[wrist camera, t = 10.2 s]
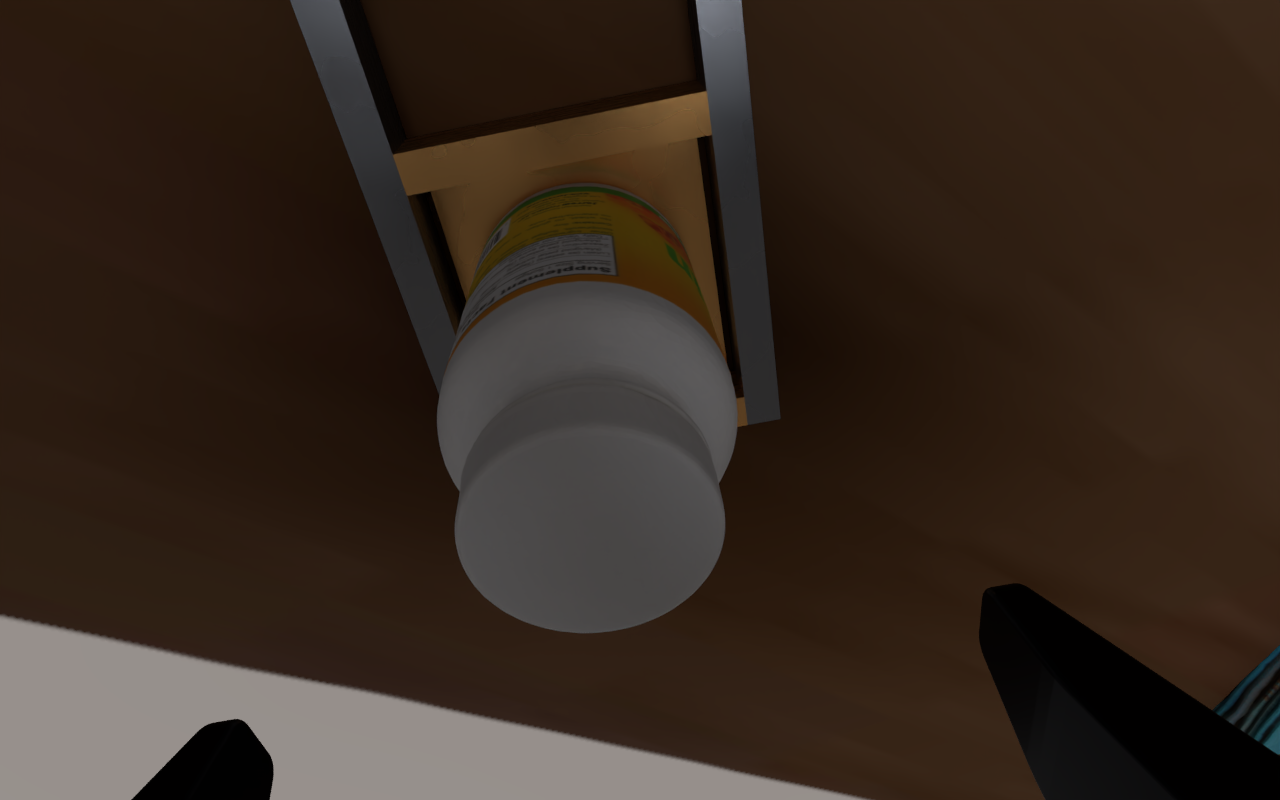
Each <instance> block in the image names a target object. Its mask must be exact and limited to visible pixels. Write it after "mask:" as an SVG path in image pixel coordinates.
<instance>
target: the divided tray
mask: <svg viewBox="0 0 1280 800" xmlns="http://www.w3.org/2000/svg"><path fill="white" fill-rule="evenodd" d="M290 1H291V4H292V6H293V9H294V12H295V14H296V17H297V20H298V22H299V25H300V28H301V30H302V33H303V36H304V38H305V41H306V43H307V46H308V49H309V51H310V54H311V57H312V59H313V62H314V65H315V67H316V70H317V73H318V75H319V78H320V81H321V83H322V86H323V89H324V91H325V94H326V96H327V99H328V102H329V104H330V107H331V110H332V112H333V115H334V118H335V120H336V123H337V126H338V128H339V131H340V134H341V136H342V139H343V141H344V144H345V147H346V149H347V152H348V155H349V157H350V160H351V163H352V165H353V168H354V171H355V173H356V176H357V179H358V181H359V184H360V186H361V189H362V192H363V194H364V197H365V200H366V202H367V205H368V208H369V210H370V213H371V216H372V218H373V221H374V224H375V226H376V229H377V232H378V234H379V237H380V239H381V242H382V245H383V247H384V250H385V253H386V255H387V258H388V261H389V263H390V266H391V269H392V271H393V274H394V277H395V279H396V282H397V284H398V287H399V290H400V292H401V295H402V298H403V300H404V303H405V306H406V308H407V311H408V314H409V316H410V319H411V322H412V324H413V327H414V330H415V332H416V335H417V337H418V340H419V343H420V345H421V348H422V351H423V353H424V356H425V359H426V361H427V364H428V367H429V369H430V372H431V375H432V377H433V380H434V382H435V385H436V388H437V390H438V393H439V396H440V390H441V386H442V381H443V377H444V373H445V370H446V367H447V364H448V360H449V357H450V354H451V350H452V347H453V344H454V341H455V338H456V334H457V331H458V328H459V324H460V321H461V317H462V314H463V311H464V310H463V307H462V304H461V301H460V298H459V295H458V292H457V289H456V286H455V283H454V280H453V277H452V274H451V271H450V268H449V265H448V262H447V259H446V256H445V253H444V250H443V247H442V244H441V241H440V238H439V235H438V232H437V229H436V226H435V223H434V220H433V217H432V214H431V211H430V208H429V205H428V202H427V199H426V196H425V193H424V192H429V191H430V192H431V195H432V198H433V201H434V204H435V207H436V210H437V213H438V216H439V219H440V222H441V225H442V228H443V231H444V234H445V237H446V241H447V244H448V247H449V250H450V253H451V256H452V259H453V262H454V265H455V268H456V271H457V274H458V277H459V280H460V283H461V286H462V289H463V292H464V295H465V298H466V301H467V298H468V294H469V291H470V287H471V284H472V281H473V278H474V274H475V271H476V267H477V264H478V262H479V259H480V256H481V254H482V251H483V248H484V246H485V244H486V242H487V240H488V238H489V236H490V235H491V233H492V231H493V230H494V228H495V227H496V226H497V224H498V223H499V222H500V221H501V219H502V218H503V217H504V216H505V215H506V214H507V213H508V212H509V211H510V210H511V209H513V208H514V207H515V206H516V205H518V204H519V203H520V202H522V201H523V200H525V199H526V198H528V197H530V196H532V195H533V194H535V193H537V192H540V191H542V190H545V189H548V188H551V187H555V186H559V185H564V184H572V183H597V184H605V185H610V186H614V187H617V188H620V189H623V190H626V191H629V192H631V193H633V194H635V195H637V196H639V197H640V198H642V199H644V200H645V201H647V202H648V203H650V204H651V205H652V206H653V207H654V208H656V209H657V210H658V211H659V212H660V213H661V214H662V215H663V216H664V217H665V218H666V219H667V220H668V221H669V223H670V224H671V225H672V226H673V228H674V229H675V231H676V232H677V234H678V235H679V237H680V239H681V241H682V243H683V245H684V247H685V249H686V252H687V254H688V257H689V259H690V262H691V265H692V268H693V270H694V273H695V276H696V279H697V281H698V284H699V287H700V289H701V292H702V295H703V298H704V300H705V303H706V306H707V308H708V311H709V314H710V317H711V320H712V323H713V326H714V329H715V332H716V335H717V338H718V340H719V343H720V346H721V349H722V351H723V354H724V357H725V360H726V352H725V345H724V337H723V330H722V322H721V315H720V307H719V300H718V292H717V285H716V277H715V270H714V262H713V255H712V247H711V240H710V232H709V225H708V217H707V210H706V202H705V195H704V187H703V180H702V172H701V165H700V157H699V150H698V142H697V138H698V137H703V136H704V137H705V145H706V153H707V161H708V168H709V176H710V184H711V192H712V200H713V208H714V215H715V223H716V231H717V239H718V247H719V254H720V262H721V270H722V278H723V286H724V293H725V301H726V309H727V317H728V325H729V333H730V340H731V348H732V356H733V364H734V370H730V373H731V377H732V382H733V386H734V390H735V395H736V401H737V412H738V420H737V427H740V426H745V425H750V424H756V423H761V422H766V421H772V420H777V419H781V418H780V407H779V397H778V386H777V375H776V365H775V354H774V343H773V333H772V322H771V311H770V301H769V290H768V279H767V269H766V258H765V247H764V237H763V226H762V215H761V205H760V194H759V183H758V173H757V162H756V151H755V141H754V130H753V119H752V109H751V98H750V87H749V77H748V66H747V55H746V45H745V34H744V23H743V13H742V2H741V0H687V4H688V12H689V20H690V28H691V36H692V43H693V51H694V59H695V67H696V75H697V80H694V81H689V82H684V83H679V84H675V85H670V86H665V87H660V88H655V89H650V90H645V91H640V92H635V93H630V94H625V95H620V96H615V97H611V98H606V99H601V100H596V101H591V102H586V103H581V104H576V105H571V106H566V107H561V108H556V109H551V110H547V111H542V112H537V113H532V114H527V115H522V116H517V117H512V118H507V119H502V120H497V121H492V122H487V123H483V124H478V125H473V126H468V127H463V128H458V129H453V130H448V131H443V132H438V133H433V134H428V135H423V136H419V137H414V138H409V139H406V136H405V133H404V130H403V127H402V124H401V121H400V118H399V115H398V112H397V109H396V106H395V103H394V100H393V97H392V94H391V91H390V88H389V85H388V82H387V79H386V76H385V73H384V70H383V67H382V64H381V61H380V58H379V55H378V52H377V49H376V46H375V43H374V40H373V37H372V34H371V32H370V29H369V26H368V23H367V20H366V17H365V14H364V11H363V8H362V5H361V2H360V0H290ZM726 363H727V360H726Z"/></svg>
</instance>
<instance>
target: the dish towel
mask: <svg viewBox="0 0 1280 800" xmlns="http://www.w3.org/2000/svg"><path fill="white" fill-rule="evenodd" d="M1212 711H1214V712H1215V713H1217V714H1218V715H1220V716H1221V717H1223V718H1224V719H1226V720H1227V721H1229V722H1230V723H1232V724H1233V725H1235V726H1236V727H1238V728H1239V729H1241V730H1242V731H1244V732H1245V733H1247V734H1248V735H1250V736H1251V737H1252V738H1254V739H1255V740H1257V741H1258V742H1260V743H1261V744H1263V745H1264V746H1266V747H1267V748H1269V749H1270V750H1272V751H1273V752H1275V753H1276V754H1280V645H1279V646H1278V647H1277V648H1276V649H1275V650H1274V651H1273V652H1272V653H1271V654H1270V655H1269V656H1268V657H1267V658H1266V659H1265V660H1263V661H1262V662H1261V663H1260V664H1259V665H1258V666H1257V667H1256V668H1255V669H1254V670H1253V671H1252V672H1251V673H1249V674H1248V675H1247V676H1246V677H1245V678H1244V679H1243V680H1242V681H1241V682H1240V684H1239V685H1238V686H1237V687H1236V688H1235V689H1234V690H1233V691H1232V692H1231V693H1230V694H1229V695H1228V696H1227V697H1226V698H1225V699H1224V700H1223V701H1222V702H1221V703H1219V704H1218V705H1217V706H1216V707H1215V708H1214V709H1213V710H1212Z"/></svg>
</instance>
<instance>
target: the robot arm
mask: <svg viewBox="0 0 1280 800" xmlns="http://www.w3.org/2000/svg"><path fill="white" fill-rule="evenodd" d="M979 641H980V646H981V650H982V653H983V656H984V658H985V661H986V663H987V665H988V668H989V670H990V673H991V675H992V677H993V680H994V682H995V685H996V687H997V689H998V692H999V694H1000V697H1001V699H1002V702H1003V704H1004V706H1005V709H1006V711H1007V714H1008V716H1009V718H1010V721H1011V723H1012V726H1013V728H1014V730H1015V733H1016V735H1017V738H1018V740H1019V743H1020V745H1021V747H1022V750H1023V752H1024V755H1025V757H1026V759H1027V762H1028V764H1029V766H1030V769H1031V771H1032V773H1033V775H1034V778H1035V780H1036V782H1037V784H1038V786H1039V788H1040V790H1041V792H1042V794H1043V796H1044V798H1045V800H1280V756H1279V755H1278V754H1276V753H1275V752H1273V751H1272V750H1270V749H1269V748H1267V747H1266V746H1264V745H1263V744H1261V743H1260V742H1258V741H1257V740H1255V739H1254V738H1252V737H1251V736H1250V735H1248V734H1247V733H1245V732H1244V731H1242V730H1241V729H1239V728H1238V727H1236V726H1235V725H1233V724H1232V723H1230V722H1229V721H1227V720H1226V719H1224V718H1223V717H1221V716H1220V715H1218V714H1217V713H1215V712H1214V711H1212V710H1211V709H1209V708H1208V707H1206V706H1205V705H1203V704H1202V703H1200V702H1199V701H1197V700H1196V699H1194V698H1193V697H1191V696H1190V695H1188V694H1187V693H1185V692H1184V691H1182V690H1181V689H1179V688H1178V687H1176V686H1175V685H1173V684H1172V683H1170V682H1169V681H1167V680H1166V679H1164V678H1163V677H1161V676H1160V675H1158V674H1157V673H1155V672H1154V671H1152V670H1151V669H1149V668H1148V667H1146V666H1145V665H1143V664H1142V663H1140V662H1139V661H1137V660H1136V659H1135V658H1133V657H1132V656H1130V655H1129V654H1127V653H1126V652H1124V651H1123V650H1121V649H1120V648H1118V647H1117V646H1115V645H1114V644H1112V643H1111V642H1109V641H1108V640H1106V639H1105V638H1103V637H1102V636H1100V635H1099V634H1097V633H1096V632H1094V631H1093V630H1091V629H1090V628H1088V627H1087V626H1085V625H1084V624H1082V623H1081V622H1079V621H1078V620H1076V619H1075V618H1073V617H1072V616H1070V615H1069V614H1067V613H1066V612H1064V611H1063V610H1061V609H1060V608H1058V607H1057V606H1055V605H1054V604H1052V603H1051V602H1049V601H1048V600H1046V599H1045V598H1043V597H1042V596H1040V595H1039V594H1037V593H1036V592H1034V591H1033V590H1031V589H1030V588H1028V587H1027V586H1025V585H1022V584H1018V583H1013V584H1007V585H1001V586H996V587H990V588H988V589H986V590H985V592H984V593H983V597H982V606H981V617H980V628H979ZM272 782H273V762H272V759H271V756H270V755H269V753H268V752H267V751H266V749H265V748H264V746H263V745H262V744H261V742H260V741H259V740H258V738H257V737H256V736H255V734H254V733H253V731H252V730H251V729H250V727H249V726H248V725H247V724H246V723H245V722H244V721H242V720H239V719H234V720H227V721H222V722H216V723H211V724H208V725H206V726H204V727H203V728H201V729H200V730H199V731H198V732H197V733H196V734H195V735H194V736H193V737H192V738H191V739H190V740H189V741H188V742H187V743H186V744H185V745H184V746H183V747H182V748H181V749H180V750H179V751H178V753H176V755H175V756H174V757H173V758H172V759H171V760H170V761H169V762H168V763H167V764H166V765H165V766H164V767H163V768H162V769H161V770H160V771H159V772H158V773H157V774H156V775H155V776H154V777H153V778H152V779H151V780H150V781H149V782H148V783H147V784H146V786H144V787H143V788H142V790H140V792H139V793H138V794H137V795H136V796H135V797H134V798H133V799H132V800H270V793H271V788H272Z"/></svg>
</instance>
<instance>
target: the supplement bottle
mask: <svg viewBox="0 0 1280 800" xmlns="http://www.w3.org/2000/svg"><path fill="white" fill-rule="evenodd" d="M737 420H738V412H737V401H736V395H735V390H734V386H733V382H732V377H731V373H730V371H729V369H728V366H727V363H726V360H725V357H724V354H723V351H722V349H721V346H720V343H719V340H718V338H717V335H716V332H715V329H714V326H713V323H712V320H711V317H710V314H709V311H708V308H707V306H706V303H705V300H704V298H703V295H702V292H701V289H700V287H699V284H698V281H697V279H696V276H695V273H694V270H693V268H692V265H691V262H690V259H689V257H688V254H687V252H686V249H685V247H684V245H683V243H682V241H681V239H680V237H679V235H678V234H677V232H676V231H675V229H674V228H673V226H672V225H671V224H670V223H669V221H668V220H667V219H666V218H665V217H664V216H663V215H662V214H661V213H660V212H659V211H658V210H657V209H656V208H654V207H653V206H652V205H651V204H650V203H648V202H647V201H645V200H644V199H642V198H640V197H639V196H637V195H635V194H633V193H631V192H629V191H626V190H623V189H620V188H617V187H614V186H610V185H605V184H597V183H572V184H564V185H559V186H555V187H551V188H548V189H545V190H542V191H540V192H537V193H535V194H533V195H532V196H530V197H528V198H526V199H525V200H523V201H522V202H520V203H519V204H518V205H516V206H515V207H514V208H513V209H511V210H510V211H509V212H508V213H507V214H506V215H505V216H504V217H503V218H502V219H501V221H500V222H499V223H498V224H497V226H496V227H495V228H494V230H493V231H492V233H491V235H490V236H489V238H488V240H487V242H486V244H485V246H484V248H483V251H482V254H481V256H480V259H479V262H478V264H477V267H476V271H475V274H474V278H473V281H472V284H471V287H470V291H469V294H468V298H467V301H466V304H465V308H464V311H463V314H462V317H461V321H460V324H459V328H458V331H457V334H456V338H455V341H454V344H453V347H452V350H451V354H450V357H449V360H448V364H447V367H446V370H445V373H444V377H443V381H442V386H441V390H440V396H439V402H438V407H437V430H438V439H439V444H440V449H441V453H442V456H443V459H444V462H445V466H446V468H447V470H448V472H449V474H450V476H451V478H452V480H453V482H454V484H455V485H456V487H457V488H458V490H459V491H460V494H459V500H458V506H457V512H456V518H455V542H456V547H457V551H458V555H459V558H460V561H461V564H462V566H463V568H464V570H465V572H466V574H467V576H468V577H469V579H470V580H471V582H472V583H473V584H474V586H475V587H476V588H477V589H478V590H479V591H480V593H481V594H482V595H483V596H484V597H485V598H487V599H488V600H489V601H490V602H491V603H493V604H494V605H495V606H497V607H498V608H499V609H501V610H502V611H504V612H506V613H508V614H510V615H512V616H513V617H515V618H517V619H520V620H522V621H524V622H527V623H530V624H532V625H536V626H539V627H542V628H546V629H551V630H556V631H563V632H574V633H598V632H608V631H615V630H620V629H625V628H630V627H633V626H636V625H640V624H643V623H645V622H648V621H650V620H653V619H655V618H658V617H660V616H661V615H663V614H665V613H667V612H669V611H671V610H672V609H674V608H675V607H677V606H678V605H679V604H681V603H682V602H683V601H685V600H686V599H687V598H689V597H690V596H691V595H692V594H693V593H694V592H695V591H696V590H697V589H698V588H699V587H700V586H701V585H702V583H703V582H704V581H705V580H706V578H707V577H708V576H709V574H710V573H711V571H712V569H713V568H714V566H715V564H716V562H717V560H718V557H719V555H720V552H721V549H722V546H723V541H724V535H725V512H724V506H723V500H722V496H721V492H720V488H719V482H720V481H721V479H722V477H723V475H724V473H725V471H726V468H727V466H728V464H729V462H730V459H731V456H732V453H733V450H734V445H735V440H736V434H737Z"/></svg>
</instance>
